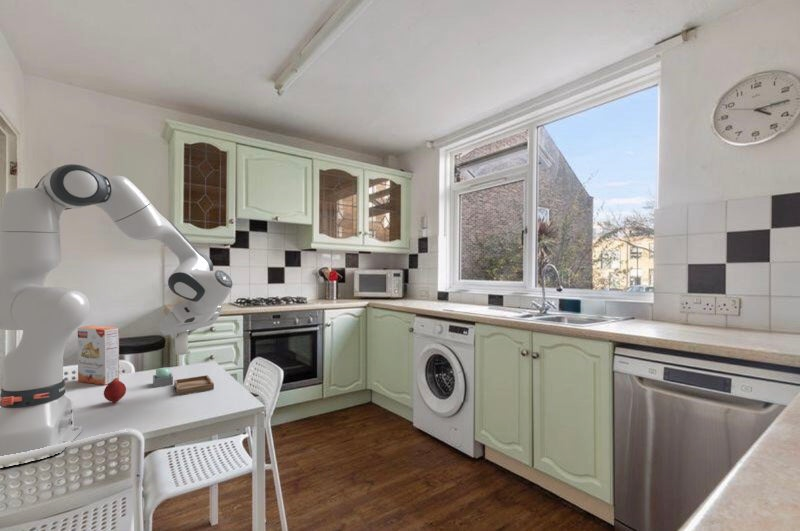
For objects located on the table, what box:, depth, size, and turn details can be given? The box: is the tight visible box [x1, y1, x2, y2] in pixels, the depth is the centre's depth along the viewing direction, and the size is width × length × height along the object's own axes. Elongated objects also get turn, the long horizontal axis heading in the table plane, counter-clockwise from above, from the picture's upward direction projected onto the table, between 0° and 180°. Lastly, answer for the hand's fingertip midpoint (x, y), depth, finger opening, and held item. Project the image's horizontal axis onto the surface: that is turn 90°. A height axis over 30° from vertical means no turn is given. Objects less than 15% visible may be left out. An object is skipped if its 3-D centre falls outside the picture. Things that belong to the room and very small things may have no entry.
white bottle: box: [174, 331, 189, 356], centre depth 136 cm, size 4×4×12 cm
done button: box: [155, 367, 171, 379], centre depth 144 cm, size 4×4×4 cm
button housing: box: [152, 372, 174, 388], centre depth 144 cm, size 6×6×3 cm
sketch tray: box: [173, 374, 215, 396], centre depth 140 cm, size 13×11×2 cm
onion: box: [103, 378, 127, 404], centre depth 125 cm, size 6×6×8 cm
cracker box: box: [77, 325, 120, 386], centre depth 147 cm, size 14×6×21 cm, turn 73°
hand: (180, 335), depth 137 cm, fingers closed on white bottle, 4 cm apart
